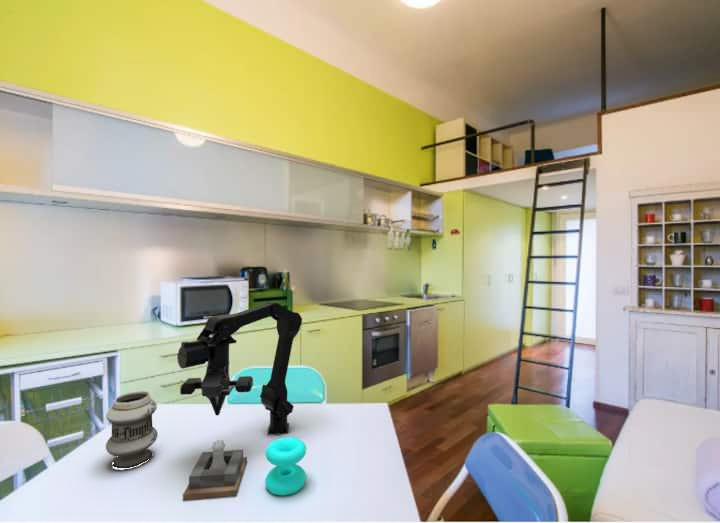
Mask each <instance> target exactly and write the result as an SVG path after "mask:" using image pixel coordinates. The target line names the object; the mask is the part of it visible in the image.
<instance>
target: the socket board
mask: <svg viewBox="0 0 720 523" xmlns="http://www.w3.org/2000/svg"><path fill="white" fill-rule="evenodd" d="M223 456H224V461H225V463H226V464H227V468H221V469H210V467H211V464H212V462H213V451H203V452H202V453H201V454H200V456H199V458H198V460H197V462H196V463H195V466H193V469H192V470H191V473H190V474H189V475H188V485H187V486H186V488H185V490H184V492H183V493H182V501H183V502H184V501H185V502H186V501H195V500H197V501H199V500H209V499H219V498H234V497H235V498H236V497H237V495H238V492H239V490H240V486H241V482H242V479H243V476H244V473H245V470H246V466H247V464H248V456H244V449H237V450H236V449H235V450H234V449H233V450H224V453H223Z"/></svg>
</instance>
